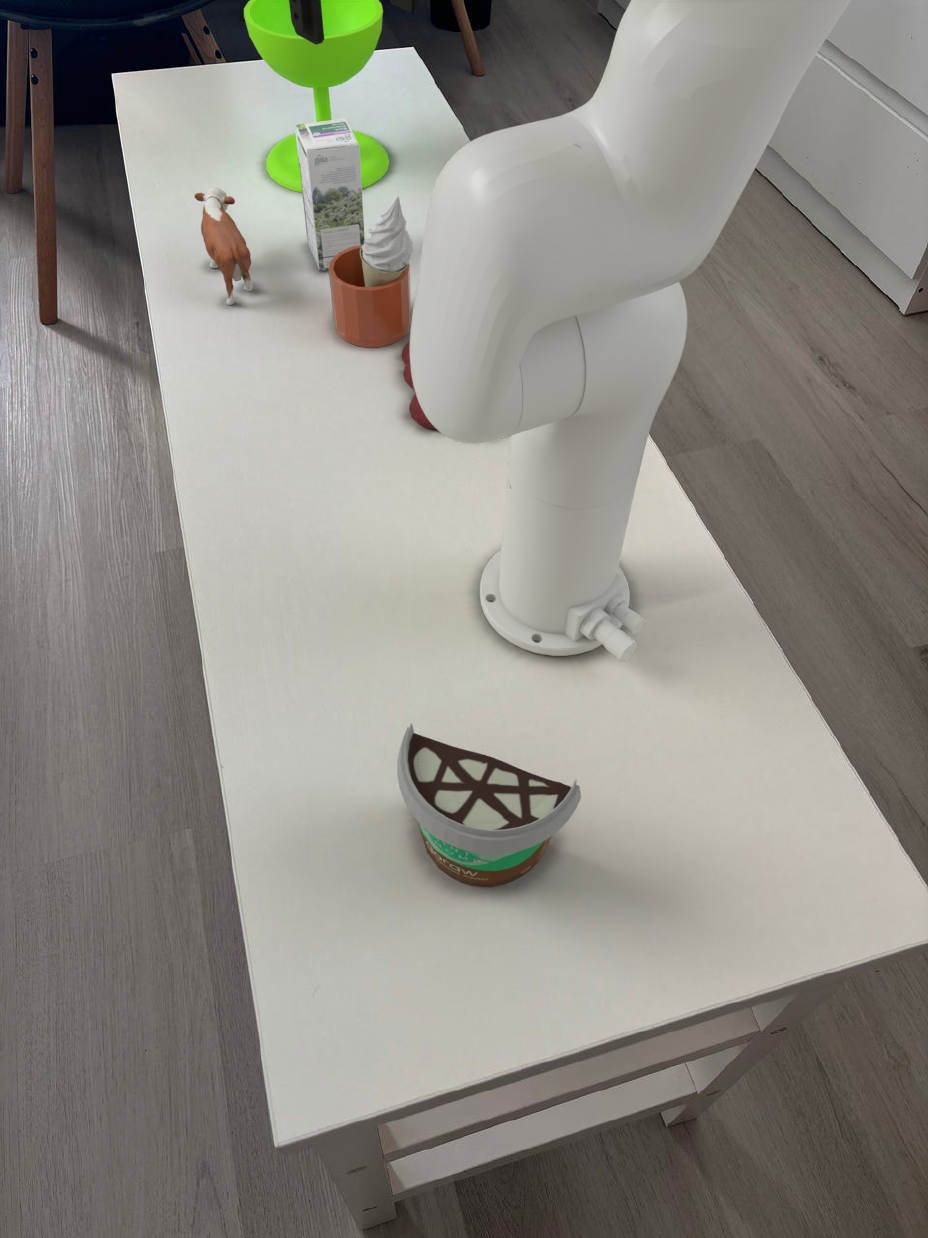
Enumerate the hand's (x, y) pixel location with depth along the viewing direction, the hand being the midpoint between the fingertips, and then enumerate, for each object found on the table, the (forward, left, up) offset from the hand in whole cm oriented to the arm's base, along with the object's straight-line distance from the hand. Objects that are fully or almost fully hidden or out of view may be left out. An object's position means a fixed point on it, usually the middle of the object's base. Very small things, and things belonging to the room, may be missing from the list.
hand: (358, 22), depth 80 cm
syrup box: (+16, -7, -31) cm, 36 cm away
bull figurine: (+20, +5, -31) cm, 37 cm away
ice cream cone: (+3, -1, -30) cm, 31 cm away
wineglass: (+34, -19, -31) cm, 50 cm away
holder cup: (+3, -2, -31) cm, 31 cm away
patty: (-11, -3, -31) cm, 33 cm away
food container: (-50, +31, -31) cm, 67 cm away
